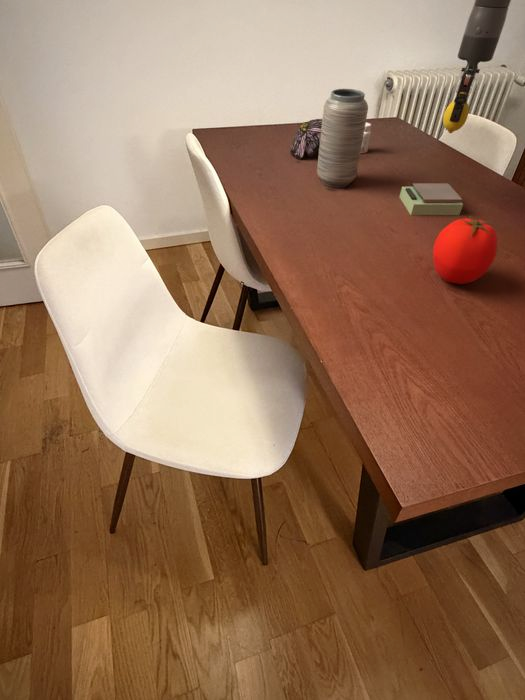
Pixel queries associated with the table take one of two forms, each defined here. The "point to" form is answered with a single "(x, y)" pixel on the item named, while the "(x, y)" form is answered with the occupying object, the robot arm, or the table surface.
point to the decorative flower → (307, 139)
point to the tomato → (464, 250)
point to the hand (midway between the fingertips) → (455, 118)
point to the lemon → (454, 125)
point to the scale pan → (436, 192)
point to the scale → (427, 204)
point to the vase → (341, 137)
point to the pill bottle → (366, 138)
